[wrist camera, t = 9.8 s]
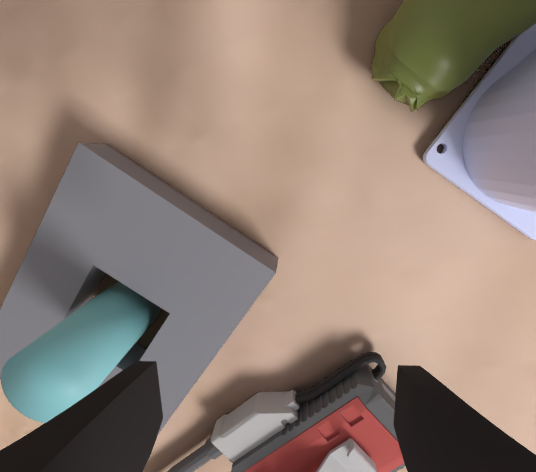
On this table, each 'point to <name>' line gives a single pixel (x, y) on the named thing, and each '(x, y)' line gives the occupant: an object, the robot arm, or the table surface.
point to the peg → (76, 353)
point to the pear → (443, 44)
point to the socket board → (136, 267)
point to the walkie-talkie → (311, 427)
